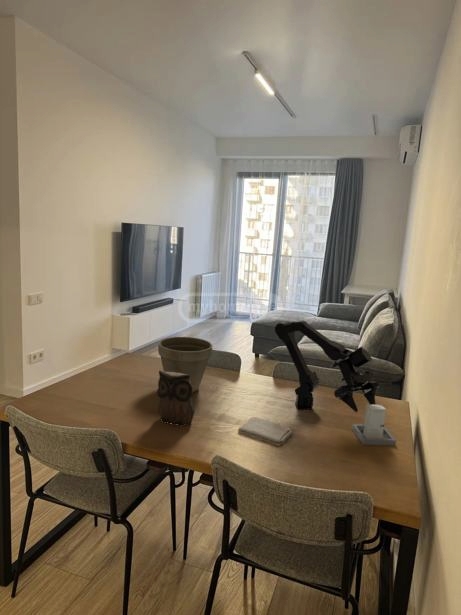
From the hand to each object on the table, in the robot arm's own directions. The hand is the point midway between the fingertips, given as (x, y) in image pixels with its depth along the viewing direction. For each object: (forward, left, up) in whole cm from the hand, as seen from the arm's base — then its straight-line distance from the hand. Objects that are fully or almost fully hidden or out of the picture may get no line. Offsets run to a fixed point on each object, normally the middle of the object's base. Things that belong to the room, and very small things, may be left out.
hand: (365, 410), depth 162 cm
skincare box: (+2, -4, -9) cm, 10 cm away
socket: (+2, -4, -9) cm, 10 cm away
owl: (-72, +6, -9) cm, 73 cm away
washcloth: (-39, -4, -10) cm, 40 cm away
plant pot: (-72, +39, -9) cm, 82 cm away
